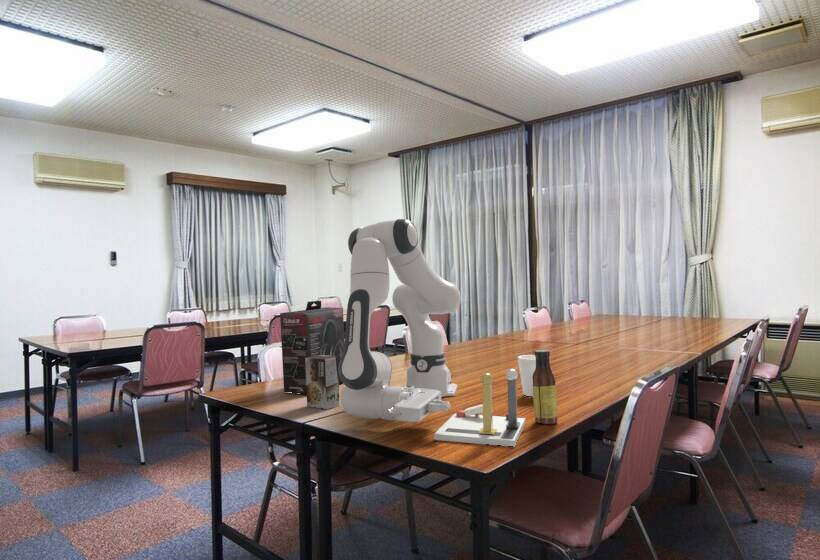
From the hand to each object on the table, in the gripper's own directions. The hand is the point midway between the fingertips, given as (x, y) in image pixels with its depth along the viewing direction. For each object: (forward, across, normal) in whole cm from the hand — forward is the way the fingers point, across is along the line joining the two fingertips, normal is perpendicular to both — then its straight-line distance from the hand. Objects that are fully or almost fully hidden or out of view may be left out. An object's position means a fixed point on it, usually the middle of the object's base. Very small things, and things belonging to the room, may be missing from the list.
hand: (448, 406), depth 132 cm
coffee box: (-48, +19, +8) cm, 52 cm away
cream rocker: (+4, +13, +4) cm, 15 cm away
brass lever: (+10, 0, +6) cm, 12 cm away
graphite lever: (+15, +7, +6) cm, 18 cm away
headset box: (-64, +43, +8) cm, 78 cm away
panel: (+7, +6, +8) cm, 12 cm away
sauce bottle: (+22, +19, +8) cm, 30 cm away
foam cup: (+16, +50, +8) cm, 53 cm away
